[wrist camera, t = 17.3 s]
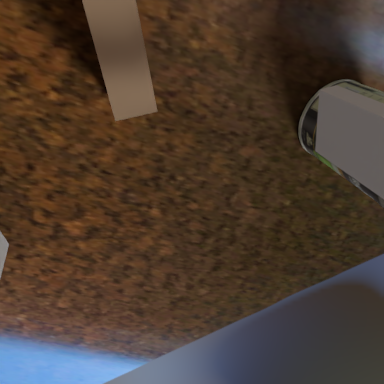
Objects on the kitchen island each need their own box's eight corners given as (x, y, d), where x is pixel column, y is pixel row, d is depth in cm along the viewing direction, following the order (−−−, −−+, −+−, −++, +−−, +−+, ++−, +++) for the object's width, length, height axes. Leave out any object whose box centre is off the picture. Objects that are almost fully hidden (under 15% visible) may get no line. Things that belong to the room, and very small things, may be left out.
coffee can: (333, 165, 47) (415, 225, 35) (282, 138, 42) (359, 197, 30) (382, 100, 43) (492, 143, 32) (333, 62, 38) (442, 96, 27)
